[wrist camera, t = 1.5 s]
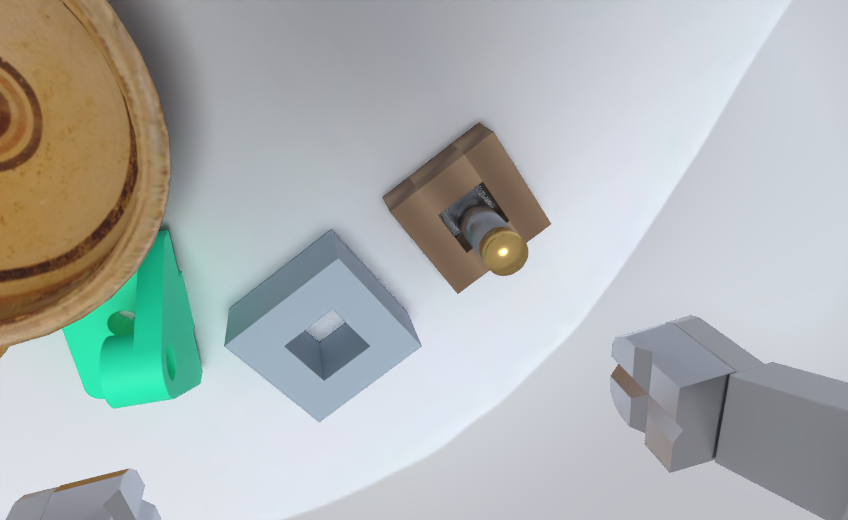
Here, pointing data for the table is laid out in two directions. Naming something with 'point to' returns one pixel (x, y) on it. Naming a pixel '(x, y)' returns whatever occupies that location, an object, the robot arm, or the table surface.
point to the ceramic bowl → (73, 163)
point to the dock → (304, 305)
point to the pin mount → (448, 182)
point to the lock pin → (489, 234)
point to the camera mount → (140, 337)
